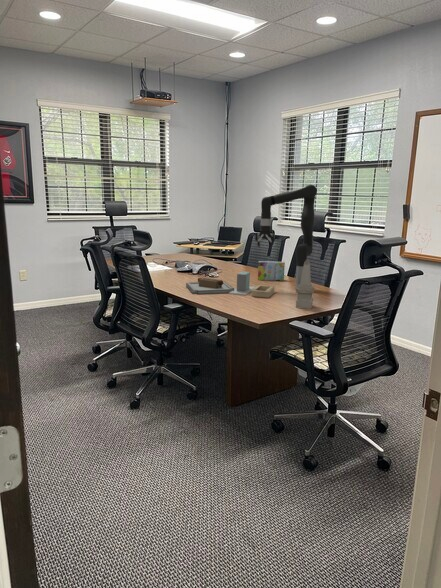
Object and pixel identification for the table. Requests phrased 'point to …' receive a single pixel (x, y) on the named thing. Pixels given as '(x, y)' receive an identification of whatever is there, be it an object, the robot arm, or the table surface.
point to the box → (243, 281)
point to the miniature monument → (305, 288)
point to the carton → (263, 291)
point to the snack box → (271, 270)
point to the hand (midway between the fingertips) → (264, 247)
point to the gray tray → (209, 286)
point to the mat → (242, 291)
